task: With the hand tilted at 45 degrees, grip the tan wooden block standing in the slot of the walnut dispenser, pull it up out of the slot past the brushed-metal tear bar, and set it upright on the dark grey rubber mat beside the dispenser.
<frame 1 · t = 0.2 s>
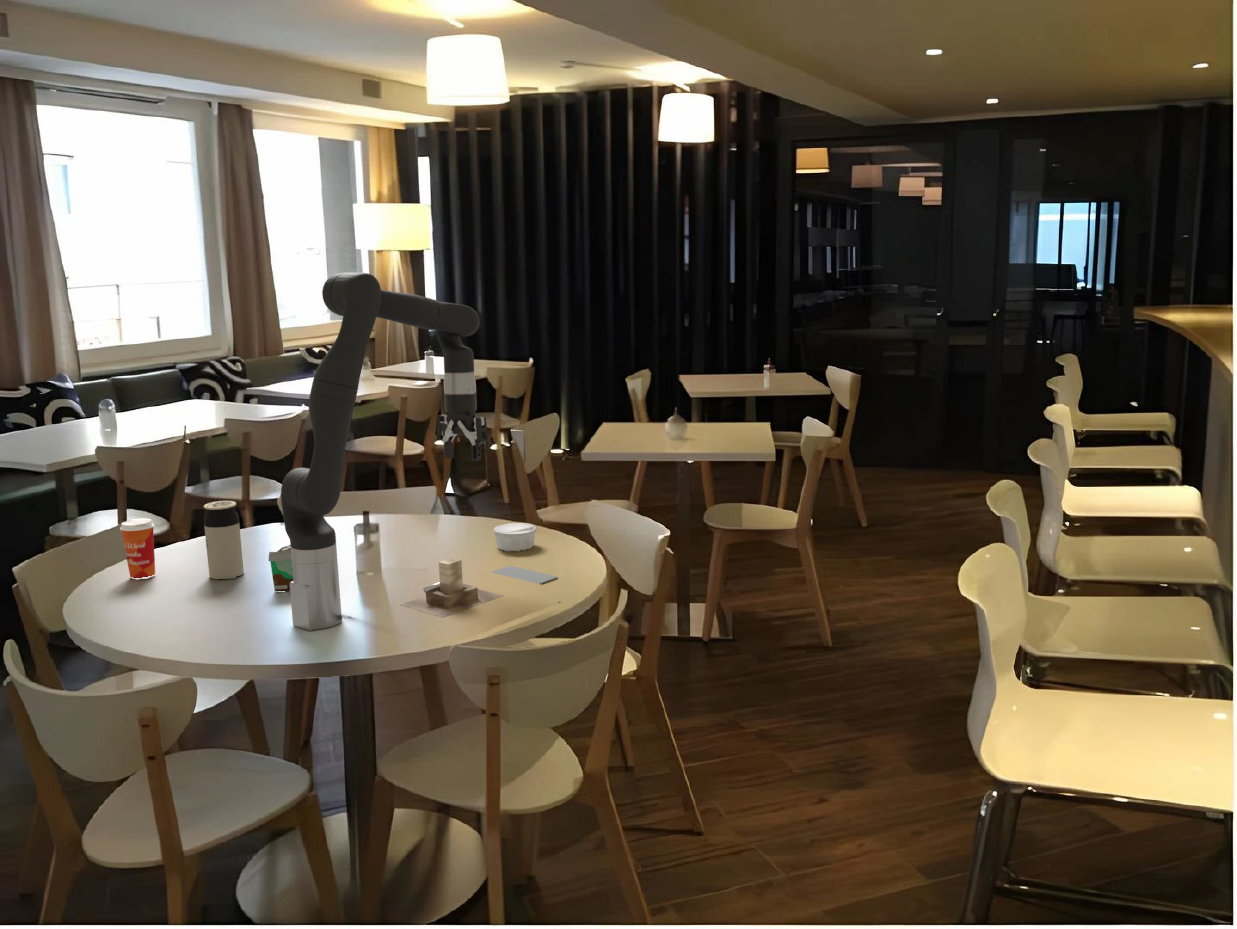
hand: (462, 459, 256), 28 cm above the table, tool pointing down, fingers open, 8 cm apart
ramekin: (515, 548, 284), on the table
rubber mat: (507, 581, 254), on the table
food container: (296, 587, 254), on the table
paper cup: (143, 577, 264), on the table
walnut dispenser: (452, 604, 239), on the table
travel mug: (226, 576, 264), on the table
tan wooden block: (452, 600, 239), point 1 cm above the table, touching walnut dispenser
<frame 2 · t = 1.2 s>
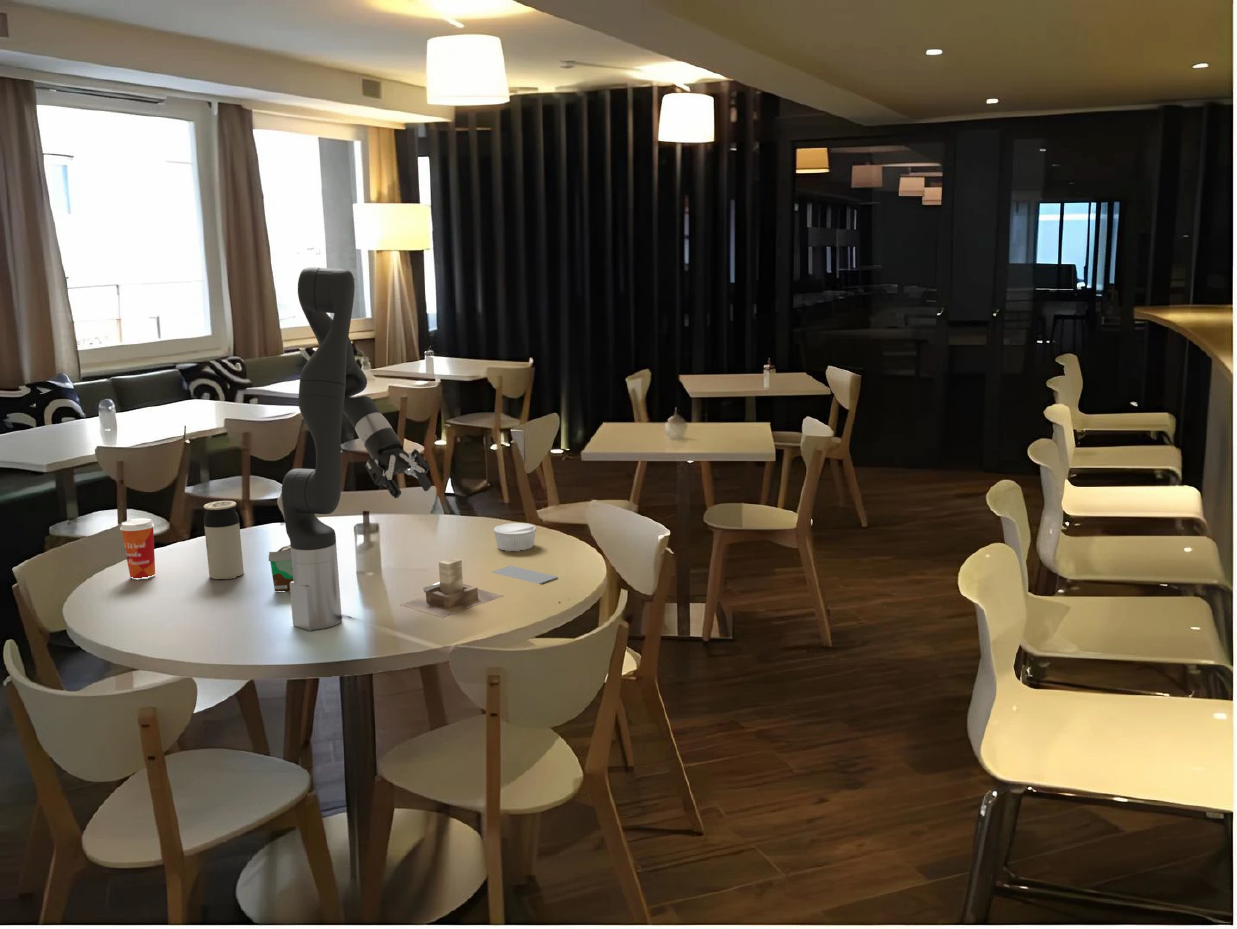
hand: (413, 492, 241), 24 cm above the table, tool tilted 45°, fingers open, 8 cm apart
nothing on the table moved.
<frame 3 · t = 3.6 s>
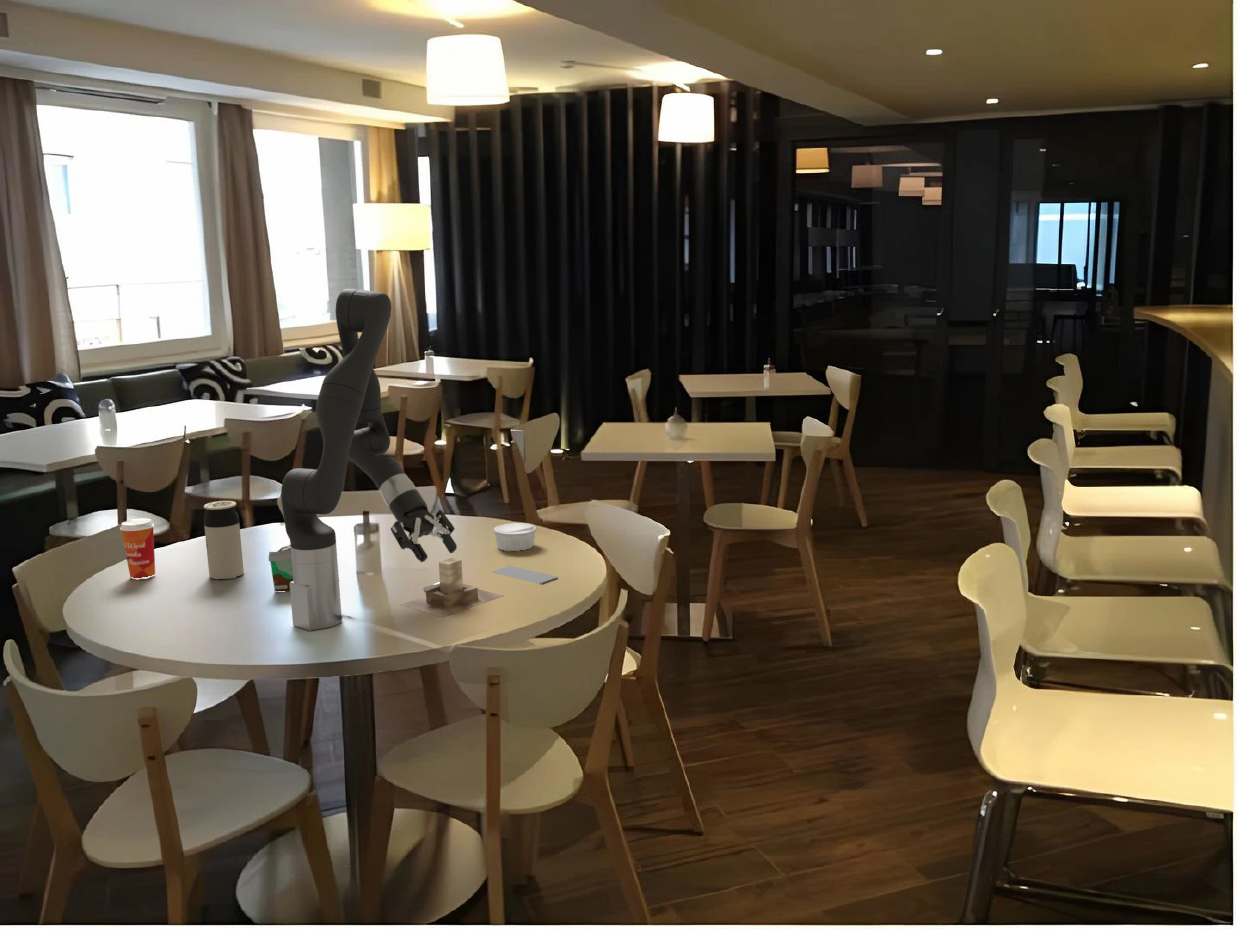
hand: (439, 555, 239), 11 cm above the table, tool tilted 45°, fingers open, 8 cm apart
nothing on the table moved.
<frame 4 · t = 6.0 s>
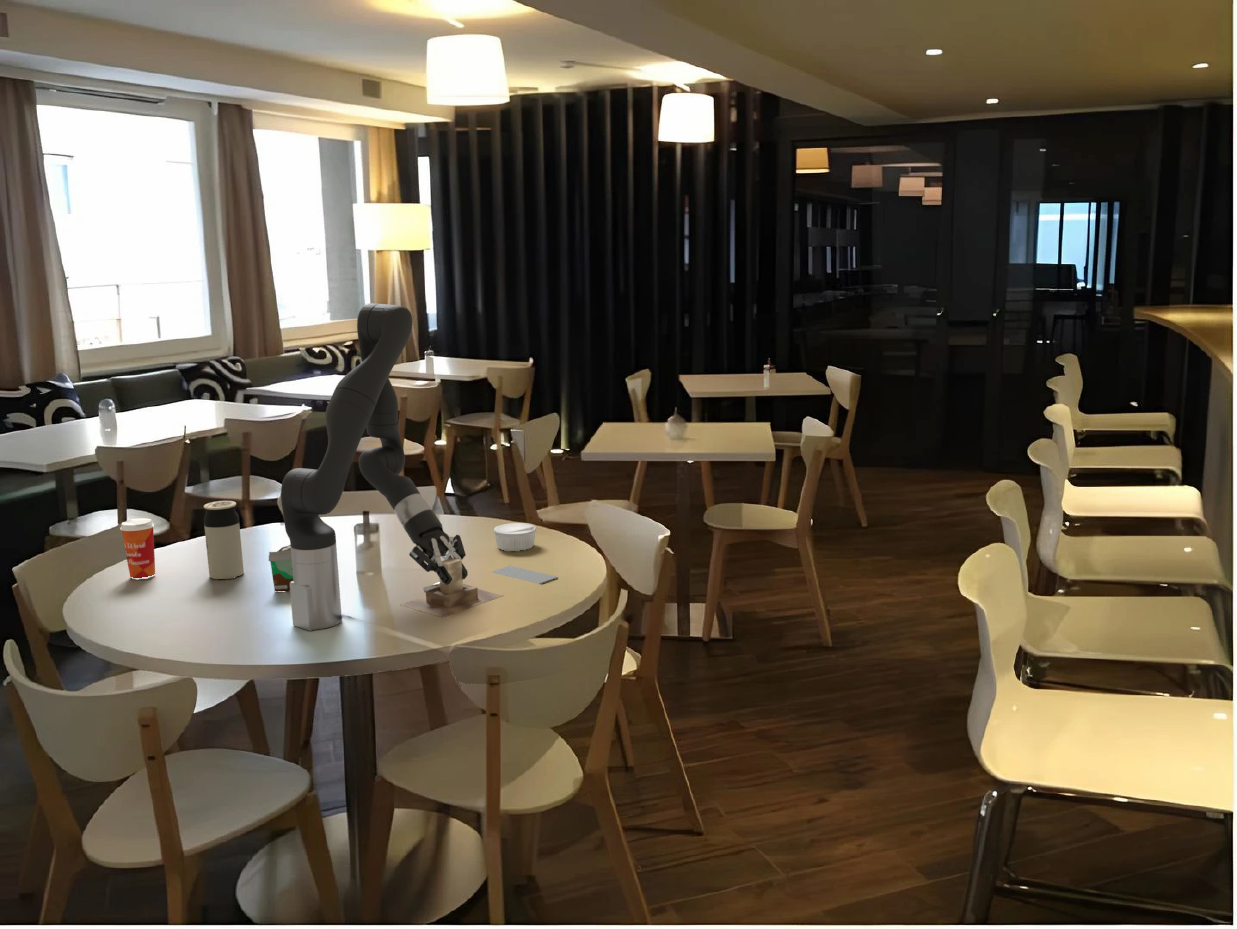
hand: (457, 579, 236), 6 cm above the table, tool tilted 45°, fingers closed on tan wooden block, 4 cm apart
tan wooden block: (452, 600, 239), point 1 cm above the table, touching gripper, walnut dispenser
everything else where it was.
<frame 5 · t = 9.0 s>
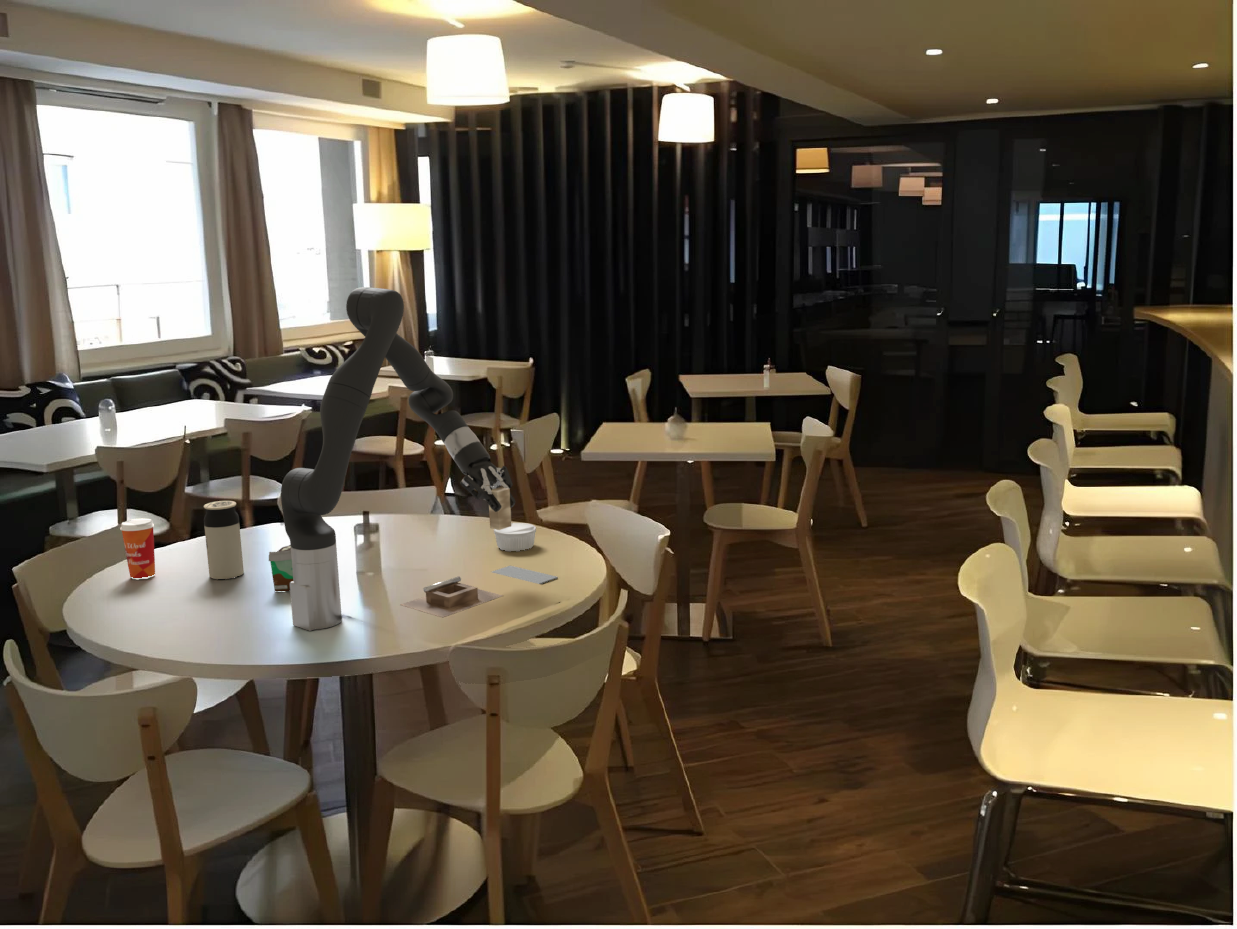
hand: (505, 507, 248), 19 cm above the table, tool tilted 45°, fingers closed on tan wooden block, 4 cm apart
tan wooden block: (500, 527, 251), point 14 cm above the table, touching gripper
everything else where it was.
when the fingers open (7 cm above the table, at t = 12.1 s): tan wooden block drops 1 cm, resting on rubber mat.
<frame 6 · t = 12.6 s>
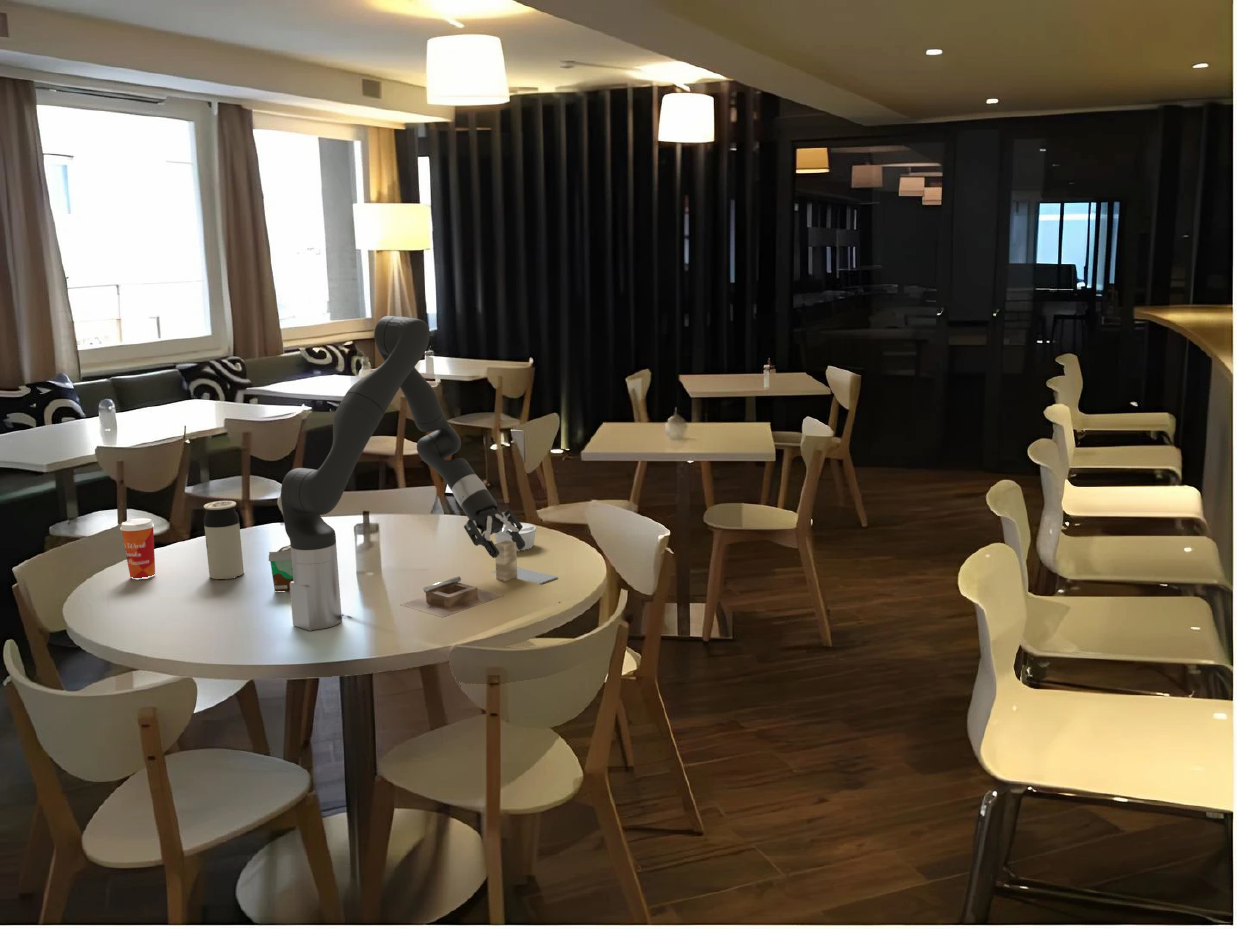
hand: (509, 551, 252), 8 cm above the table, tool tilted 45°, fingers open, 8 cm apart
tan wooden block: (507, 580, 254), resting on rubber mat
everything else where it was.
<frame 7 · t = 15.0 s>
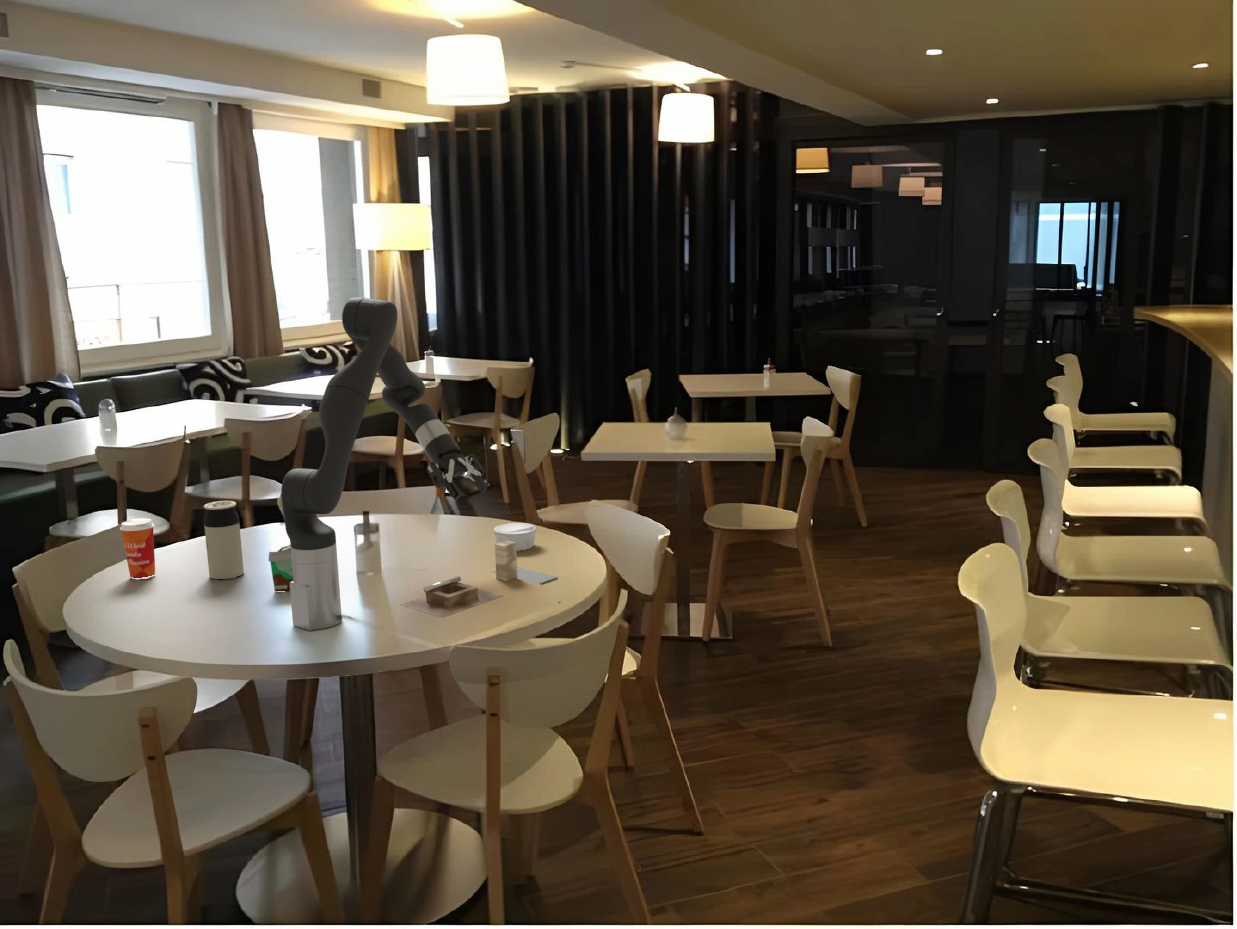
hand: (471, 494, 257), 20 cm above the table, tool tilted 45°, fingers open, 8 cm apart
nothing on the table moved.
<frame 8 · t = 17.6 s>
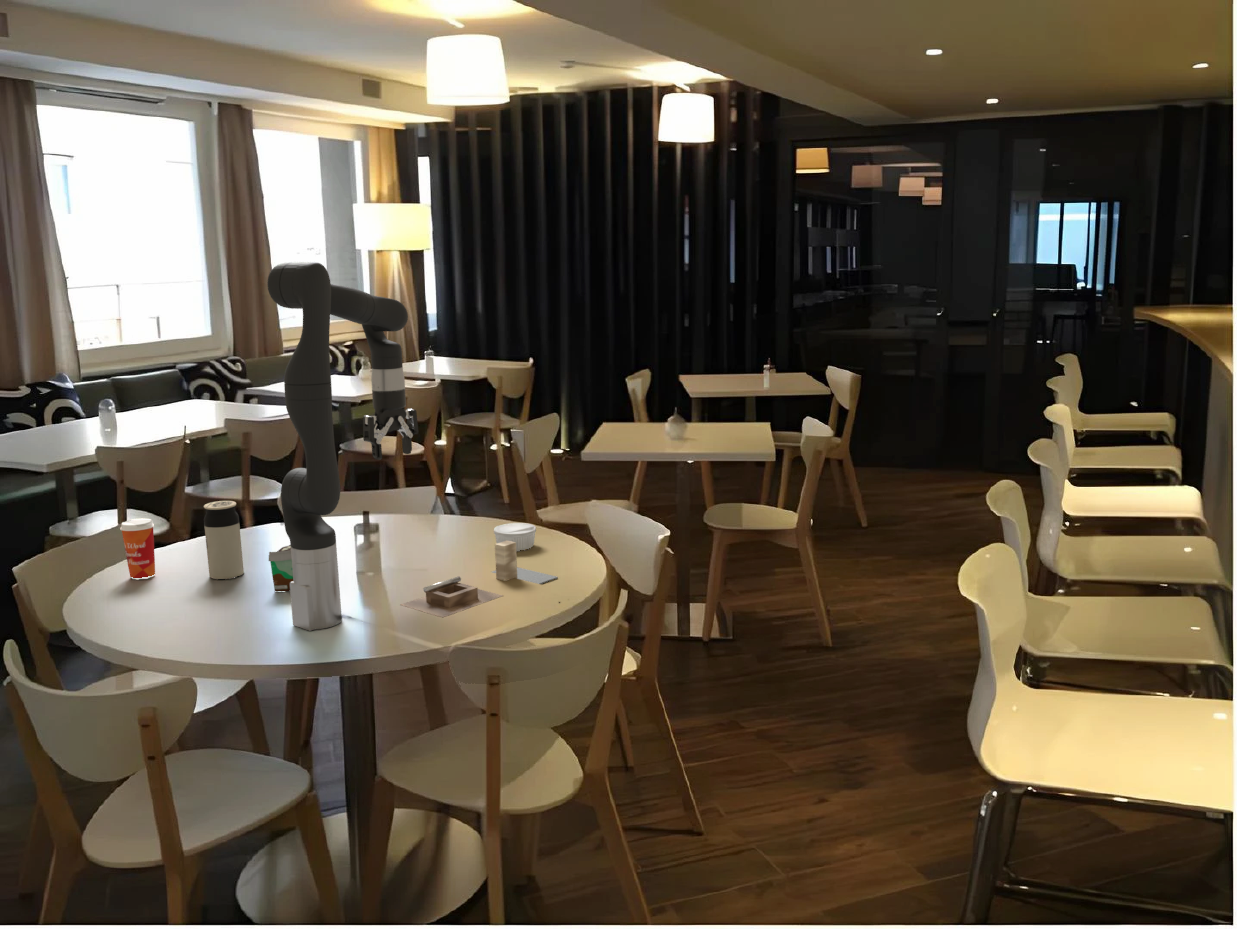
hand: (392, 456, 252), 30 cm above the table, tool pointing down, fingers open, 8 cm apart
nothing on the table moved.
at the end: tan wooden block inside the target area (0.0 cm from its centre), resting on rubber mat; tan wooden block tilted 0°; the gripper is holding nothing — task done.
